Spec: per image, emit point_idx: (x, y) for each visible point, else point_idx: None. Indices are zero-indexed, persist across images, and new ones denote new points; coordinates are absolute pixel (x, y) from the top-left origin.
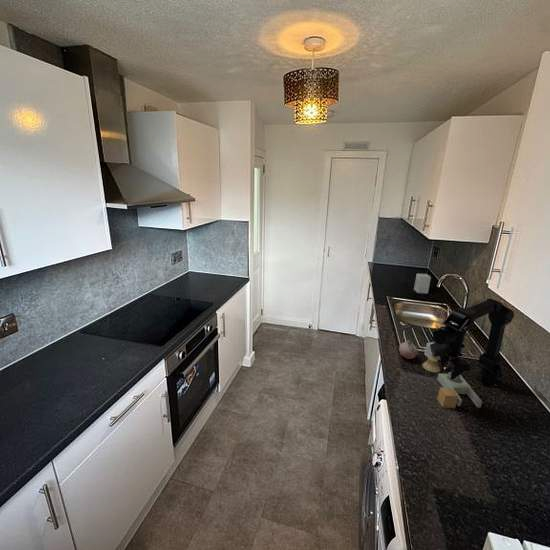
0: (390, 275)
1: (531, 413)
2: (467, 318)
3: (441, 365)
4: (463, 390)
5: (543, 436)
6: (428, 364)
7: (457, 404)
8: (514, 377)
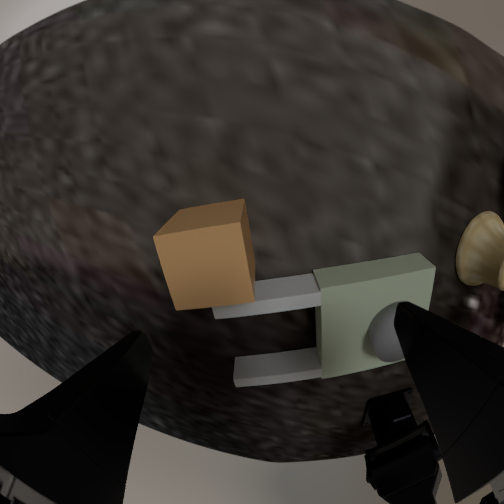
0: None
1: (255, 447)
2: None
3: (400, 310)
4: (319, 344)
5: (170, 434)
6: (492, 237)
7: None
8: None
